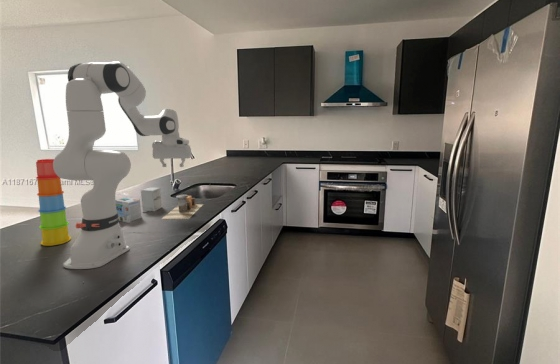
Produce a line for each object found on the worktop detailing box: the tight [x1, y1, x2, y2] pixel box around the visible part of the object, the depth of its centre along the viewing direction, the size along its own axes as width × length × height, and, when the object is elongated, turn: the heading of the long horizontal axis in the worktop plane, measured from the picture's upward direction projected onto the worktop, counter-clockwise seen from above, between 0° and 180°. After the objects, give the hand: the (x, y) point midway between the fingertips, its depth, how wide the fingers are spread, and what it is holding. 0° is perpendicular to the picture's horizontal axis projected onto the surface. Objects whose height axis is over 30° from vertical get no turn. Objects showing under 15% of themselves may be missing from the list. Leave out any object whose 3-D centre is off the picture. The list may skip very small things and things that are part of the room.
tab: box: [187, 195, 193, 207], centre depth 168 cm, size 5×3×6 cm, turn 178°
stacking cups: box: [35, 158, 72, 247], centre depth 122 cm, size 10×10×35 cm
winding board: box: [161, 194, 205, 220], centre depth 161 cm, size 26×14×10 cm, turn 178°
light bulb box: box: [115, 196, 143, 224], centre depth 151 cm, size 11×7×11 cm, turn 62°
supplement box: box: [140, 187, 163, 214], centre depth 165 cm, size 7×7×13 cm
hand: (173, 166), depth 161 cm, fingers open, 8 cm apart
